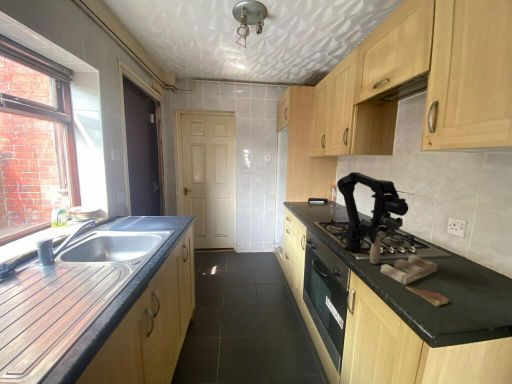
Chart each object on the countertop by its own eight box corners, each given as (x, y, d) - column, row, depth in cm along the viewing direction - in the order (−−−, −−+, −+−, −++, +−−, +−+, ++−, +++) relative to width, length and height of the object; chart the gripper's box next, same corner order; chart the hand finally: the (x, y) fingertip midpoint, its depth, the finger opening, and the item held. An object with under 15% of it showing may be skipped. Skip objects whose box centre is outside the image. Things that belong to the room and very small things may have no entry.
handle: (381, 267, 96) (386, 235, 93) (365, 263, 99) (369, 232, 96) (381, 262, 100) (385, 231, 97) (366, 258, 103) (370, 229, 100)
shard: (404, 288, 82) (405, 284, 82) (418, 285, 85) (418, 281, 84) (435, 308, 72) (436, 303, 72) (450, 303, 75) (451, 298, 74)
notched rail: (380, 272, 93) (381, 265, 92) (411, 260, 103) (412, 254, 103) (405, 284, 84) (406, 277, 83) (436, 270, 95) (437, 264, 94)
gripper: (385, 216, 84) (380, 253, 87) (412, 211, 92) (407, 245, 95) (360, 209, 93) (356, 243, 96) (387, 205, 102) (382, 236, 105)
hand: (376, 242), depth 98 cm, fingers closed on handle, 5 cm apart
